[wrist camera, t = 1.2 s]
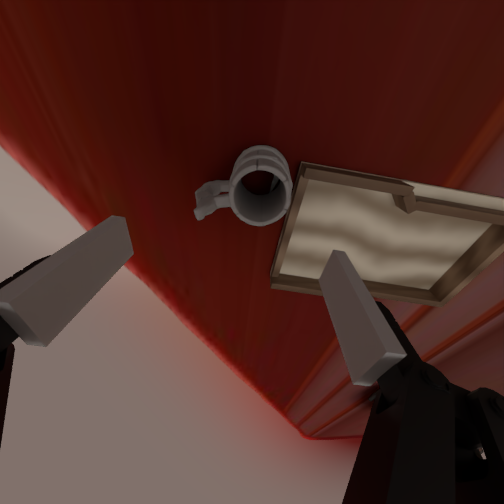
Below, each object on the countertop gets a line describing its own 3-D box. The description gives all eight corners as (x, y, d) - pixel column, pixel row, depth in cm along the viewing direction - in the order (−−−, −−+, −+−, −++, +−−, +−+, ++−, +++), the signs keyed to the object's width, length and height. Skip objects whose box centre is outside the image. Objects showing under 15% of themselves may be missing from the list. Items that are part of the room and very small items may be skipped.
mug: (290, 196, 29) (303, 237, 19) (214, 207, 31) (191, 250, 21) (286, 138, 25) (301, 153, 15) (199, 155, 27) (161, 178, 17)
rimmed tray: (301, 161, 26) (306, 167, 23) (518, 200, 28) (552, 211, 25) (270, 273, 38) (270, 288, 35) (424, 296, 40) (439, 312, 36)
